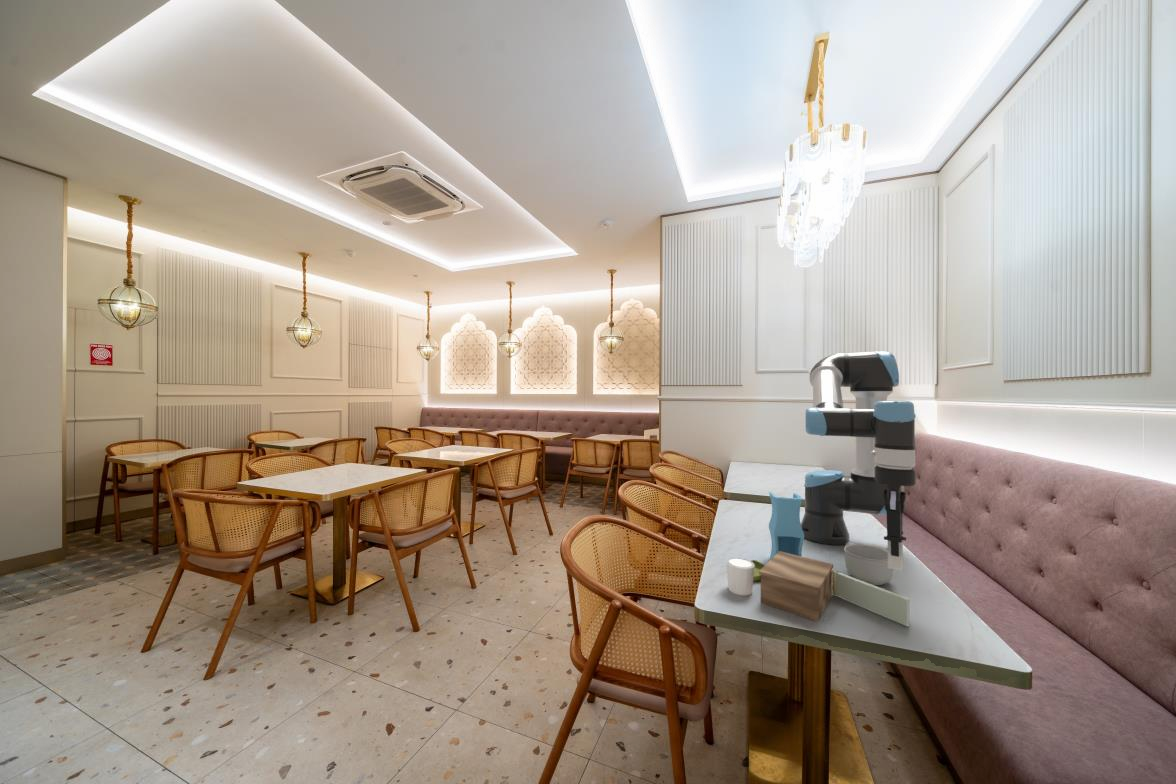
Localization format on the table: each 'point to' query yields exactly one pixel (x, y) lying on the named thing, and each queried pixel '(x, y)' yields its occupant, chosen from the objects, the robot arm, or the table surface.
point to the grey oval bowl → (868, 563)
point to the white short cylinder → (740, 575)
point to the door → (871, 597)
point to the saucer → (757, 570)
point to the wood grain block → (796, 584)
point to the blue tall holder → (786, 525)
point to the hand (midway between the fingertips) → (895, 568)
